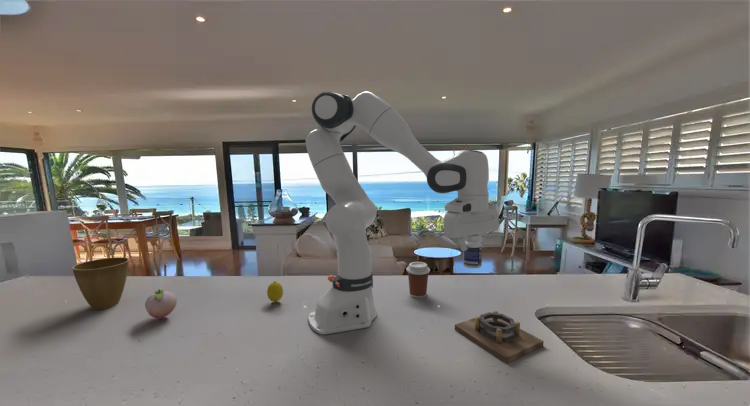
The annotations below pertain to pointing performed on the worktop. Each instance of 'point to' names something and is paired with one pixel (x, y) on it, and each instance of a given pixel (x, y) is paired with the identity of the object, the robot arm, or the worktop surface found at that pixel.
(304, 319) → the worktop surface
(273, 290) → the lemon
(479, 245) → the pill bottle
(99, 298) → the plant pot
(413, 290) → the coffee cup
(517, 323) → the collar stand
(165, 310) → the decorative fruit
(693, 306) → the worktop surface
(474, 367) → the worktop surface
